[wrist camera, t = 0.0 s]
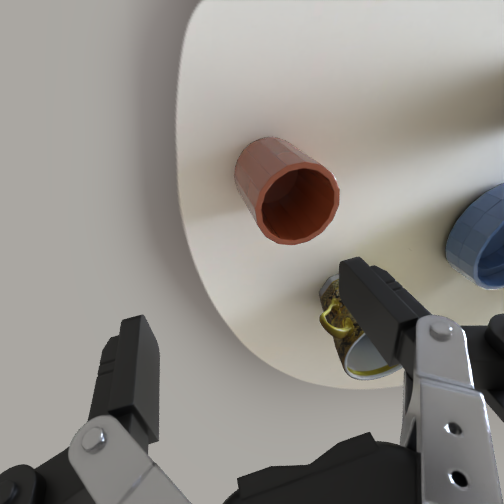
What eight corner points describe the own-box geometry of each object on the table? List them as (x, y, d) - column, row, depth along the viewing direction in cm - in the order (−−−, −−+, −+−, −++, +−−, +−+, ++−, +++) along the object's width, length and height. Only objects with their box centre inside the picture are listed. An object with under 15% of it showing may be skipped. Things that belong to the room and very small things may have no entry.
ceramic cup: (390, 270, 40) (448, 325, 32) (347, 323, 44) (389, 384, 36) (316, 241, 34) (363, 298, 26) (273, 305, 38) (303, 372, 30)
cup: (228, 145, 26) (249, 173, 20) (298, 130, 27) (340, 153, 21) (240, 211, 30) (261, 253, 24) (301, 196, 31) (338, 233, 24)
